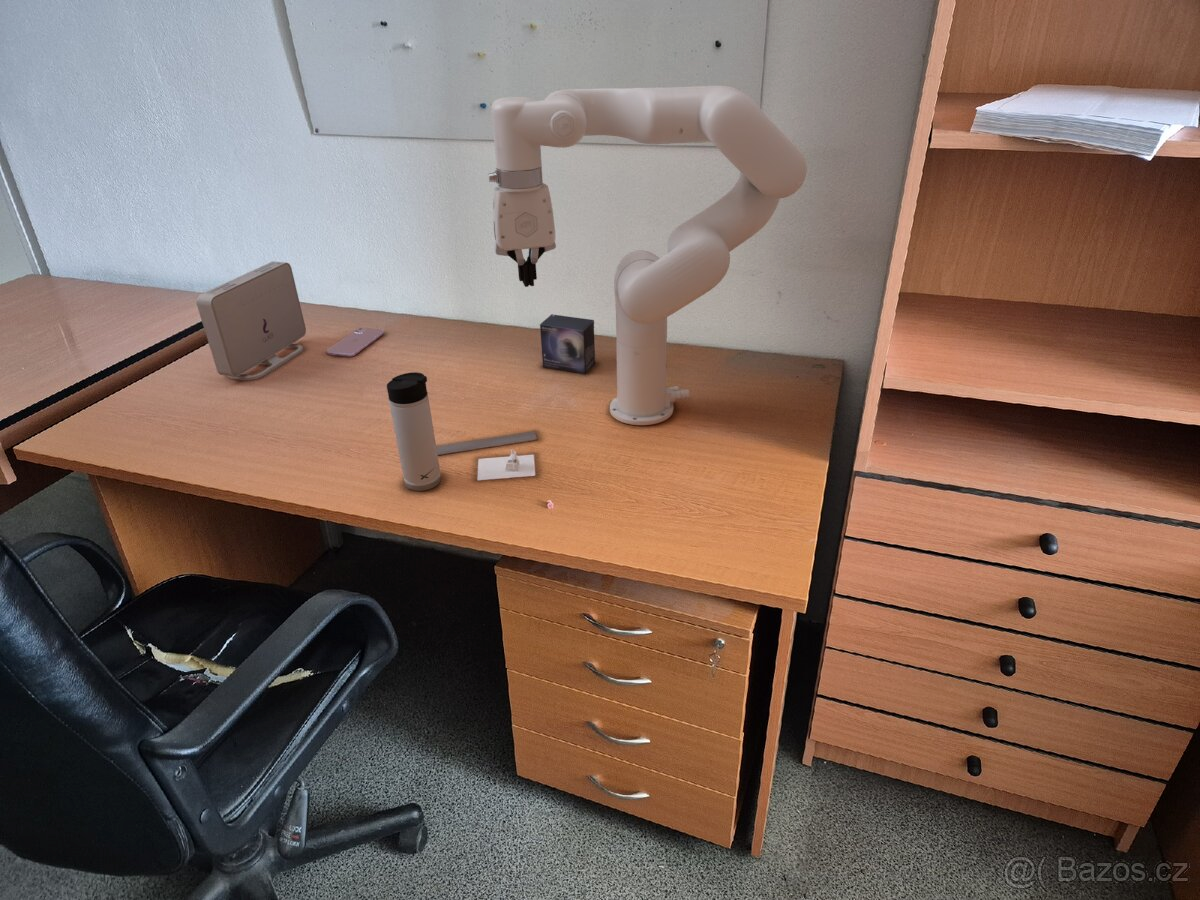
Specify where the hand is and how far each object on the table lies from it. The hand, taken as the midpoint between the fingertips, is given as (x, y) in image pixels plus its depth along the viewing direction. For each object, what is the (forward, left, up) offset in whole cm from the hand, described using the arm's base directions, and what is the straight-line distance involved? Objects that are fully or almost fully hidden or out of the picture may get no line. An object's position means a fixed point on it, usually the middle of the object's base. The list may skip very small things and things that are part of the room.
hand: (528, 283), depth 140 cm
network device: (+55, -45, -27) cm, 76 cm away
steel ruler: (+12, +8, -27) cm, 31 cm away
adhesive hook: (+9, +17, -27) cm, 33 cm away
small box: (-11, -21, -27) cm, 36 cm away
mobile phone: (+35, -49, -27) cm, 66 cm away
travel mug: (+24, +17, -27) cm, 40 cm away
